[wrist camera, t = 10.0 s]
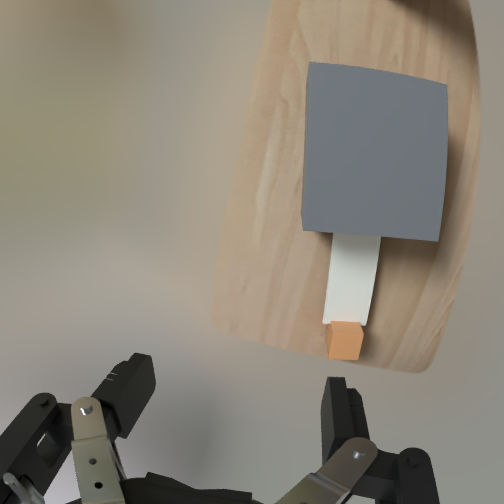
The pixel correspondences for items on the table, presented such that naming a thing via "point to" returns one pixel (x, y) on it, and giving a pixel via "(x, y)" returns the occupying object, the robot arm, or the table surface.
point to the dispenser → (374, 153)
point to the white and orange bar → (349, 292)
